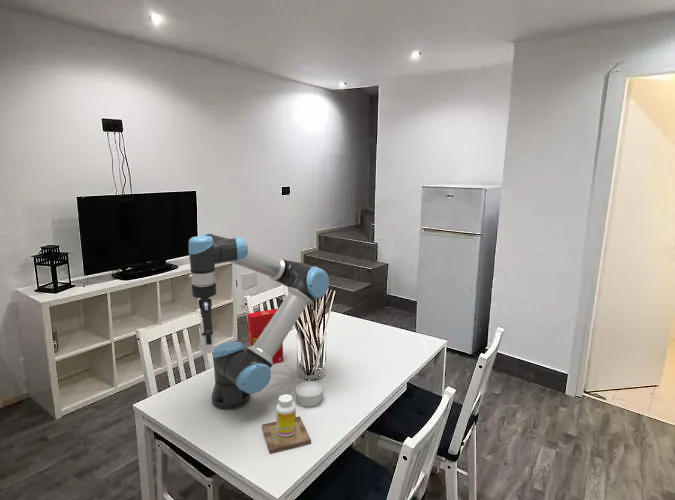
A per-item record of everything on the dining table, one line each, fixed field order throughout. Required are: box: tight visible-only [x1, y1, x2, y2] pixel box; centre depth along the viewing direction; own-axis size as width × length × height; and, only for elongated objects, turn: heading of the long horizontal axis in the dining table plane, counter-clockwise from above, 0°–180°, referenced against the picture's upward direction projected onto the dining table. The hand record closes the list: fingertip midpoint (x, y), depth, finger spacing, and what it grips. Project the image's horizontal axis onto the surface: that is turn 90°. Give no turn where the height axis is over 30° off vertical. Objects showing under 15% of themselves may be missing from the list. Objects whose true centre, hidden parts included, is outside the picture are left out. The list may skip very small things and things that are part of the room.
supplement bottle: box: [275, 393, 297, 437], centre depth 142 cm, size 7×7×13 cm
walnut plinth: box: [261, 416, 312, 454], centre depth 143 cm, size 14×14×2 cm
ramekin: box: [294, 381, 324, 408], centre depth 164 cm, size 11×11×5 cm
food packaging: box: [247, 308, 284, 365], centre depth 192 cm, size 15×5×25 cm, turn 118°
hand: (208, 344), depth 139 cm, fingers open, 13 cm apart
